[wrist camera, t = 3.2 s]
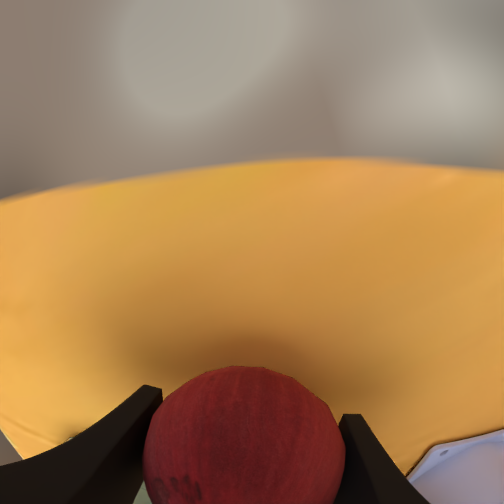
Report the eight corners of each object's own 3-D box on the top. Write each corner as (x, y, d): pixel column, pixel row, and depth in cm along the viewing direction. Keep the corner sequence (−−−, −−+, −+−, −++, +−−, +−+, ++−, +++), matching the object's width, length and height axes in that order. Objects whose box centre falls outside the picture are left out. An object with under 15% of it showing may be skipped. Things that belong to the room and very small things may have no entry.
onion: (196, 426, 12) (147, 577, 4) (166, 320, 10) (42, 509, 3) (326, 427, 11) (337, 593, 4) (334, 315, 10) (393, 558, 2)
